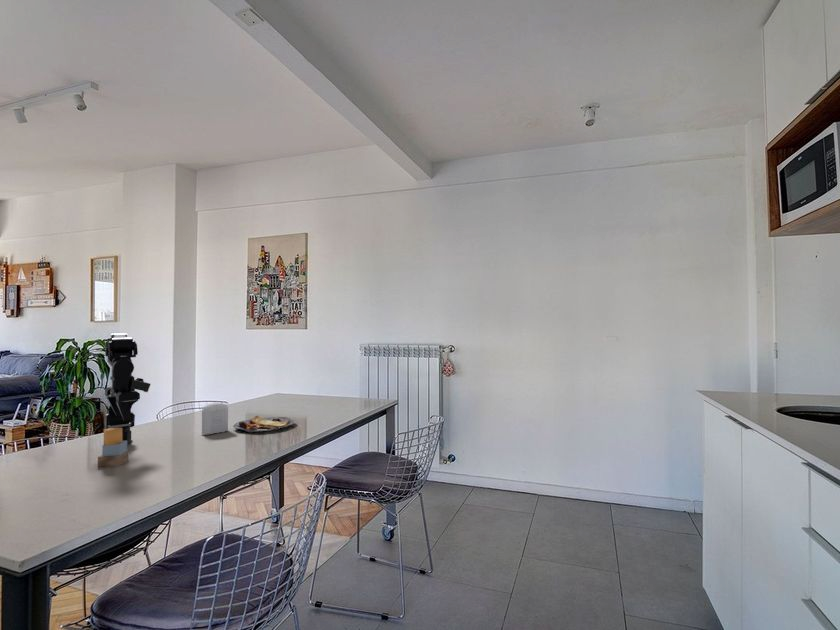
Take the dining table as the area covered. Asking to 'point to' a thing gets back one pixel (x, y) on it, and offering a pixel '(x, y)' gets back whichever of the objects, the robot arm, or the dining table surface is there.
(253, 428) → the food plate
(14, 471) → the dining table surface
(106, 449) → the slate top block
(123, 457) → the walnut base block
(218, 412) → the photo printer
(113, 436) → the orange cylinder
